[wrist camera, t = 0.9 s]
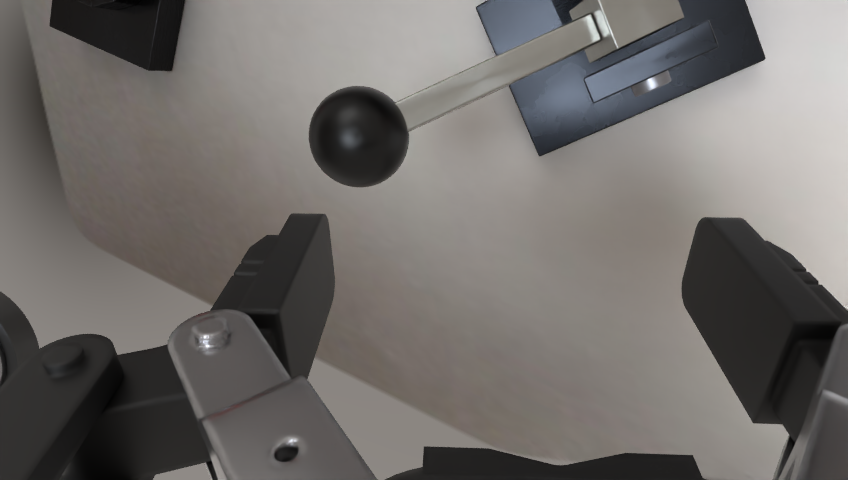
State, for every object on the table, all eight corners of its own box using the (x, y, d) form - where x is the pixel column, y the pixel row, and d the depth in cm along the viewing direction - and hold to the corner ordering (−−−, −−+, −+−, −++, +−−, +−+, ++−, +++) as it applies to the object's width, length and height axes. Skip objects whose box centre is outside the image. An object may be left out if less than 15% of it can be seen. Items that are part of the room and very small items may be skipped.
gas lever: (337, 202, 22) (334, 205, 18) (296, 118, 22) (285, 104, 18) (648, 55, 23) (702, 31, 19) (616, -29, 22) (665, -69, 19)
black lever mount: (540, 154, 33) (518, 193, 22) (479, 9, 32) (422, -26, 21) (759, 59, 29) (866, 49, 18) (698, -113, 27) (773, -237, 16)
